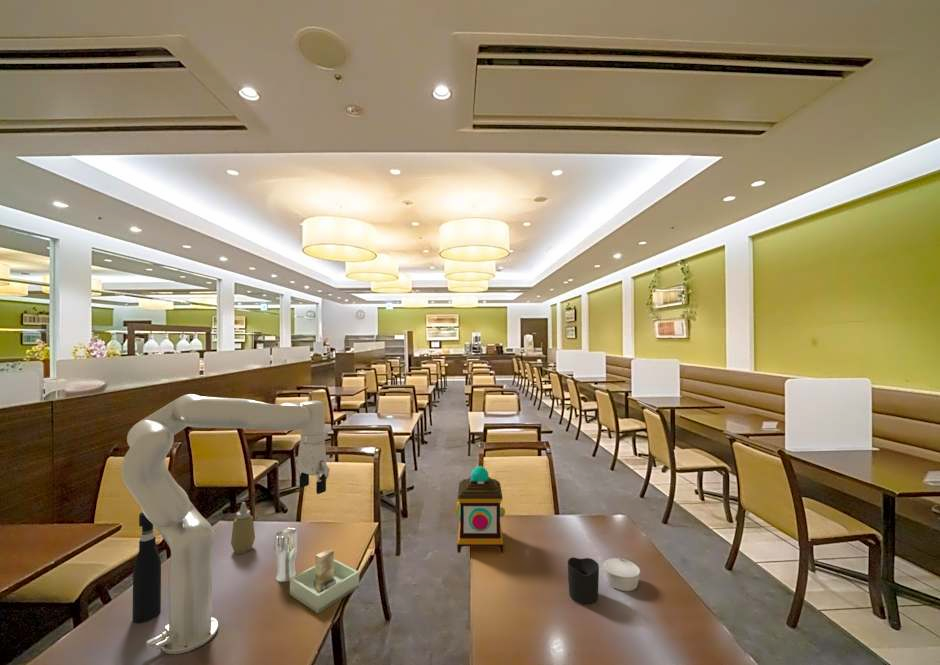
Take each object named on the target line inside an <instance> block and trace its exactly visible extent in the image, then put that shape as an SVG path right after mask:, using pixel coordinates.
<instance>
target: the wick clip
mask: <svg viewBox="0 0 940 665" xmlns="http://www.w3.org/2000/svg"><path fill="white" fill-rule="evenodd" d="M335 584H336V580H335V579H332V580H330V581H329V582H327V583H325V584H323V591H324V590H326V589H328V588H329V587H331V586H333V585H335ZM314 588H315V589H316V579H315V580H314Z"/></svg>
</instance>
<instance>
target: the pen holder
mask: <svg viewBox="0 0 940 665" xmlns="http://www.w3.org/2000/svg"><path fill="white" fill-rule="evenodd" d="M599 568H600V565H599V563H598V562H597V560H594V559H592V558H590V557H584V558H577V557H575V556H574V557H573V556H572V557H569V559H567V578H568V593H569V596H570V598H571V600H572V601H574V600H575V601H576V602H575V601H574V602H575V603H577V602H578V603H577V604H580V603H582V604H581V605H584V604H590V605H593V604H596V602H597V601H598V600H599V599H598V597H599V575H600V574H599V573H600V569H599ZM592 603H593V604H592Z"/></svg>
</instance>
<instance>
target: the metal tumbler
mask: <svg viewBox="0 0 940 665" xmlns="http://www.w3.org/2000/svg"><path fill="white" fill-rule="evenodd" d="M297 531H298V530H297V528H294V527H287V528H283V529H280V530H278V531H276V533H275V538H274V539H275V541H274V555H275V559H276V566H277V571H276V578H275V580H276V582H279V583H285V582H290V578H292V577H294V576H296V575H297V574H296V573H297V572H296V568H295V565H296V564H295V562H296V557H297V550H298V534H297V533H298V532H297Z"/></svg>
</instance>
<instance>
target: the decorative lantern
mask: <svg viewBox="0 0 940 665" xmlns="http://www.w3.org/2000/svg"><path fill="white" fill-rule="evenodd" d="M502 502H503V492H502V486H501V482H500V481H499V480H497V479H494V478H491V477H490V476H489V472H488V470H487V469H486V468H485V467H484V466H482V465H477V466H476V467H475V468H474V469H473V470H472V471H471V473H470V476H469V477H468V478H467V479H466V478H464V479H462V480H460V482H459V483H458V492H457V501H456V504H455V506H454V513H455V515H456V516H459V519H460V521H459V522H458V523H459V524H458V532H457V542H456V543H457V544H456V550H457V553H458V554H461V552H462V547H463V548H464V547H498V549H499V551H498V552H499V553H500V554H502V553H504V540H503V532H502V526H501V524H502V523H501V518H502V517H504V516H505V514H506V509H505V508H504V507H501V503H502Z"/></svg>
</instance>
